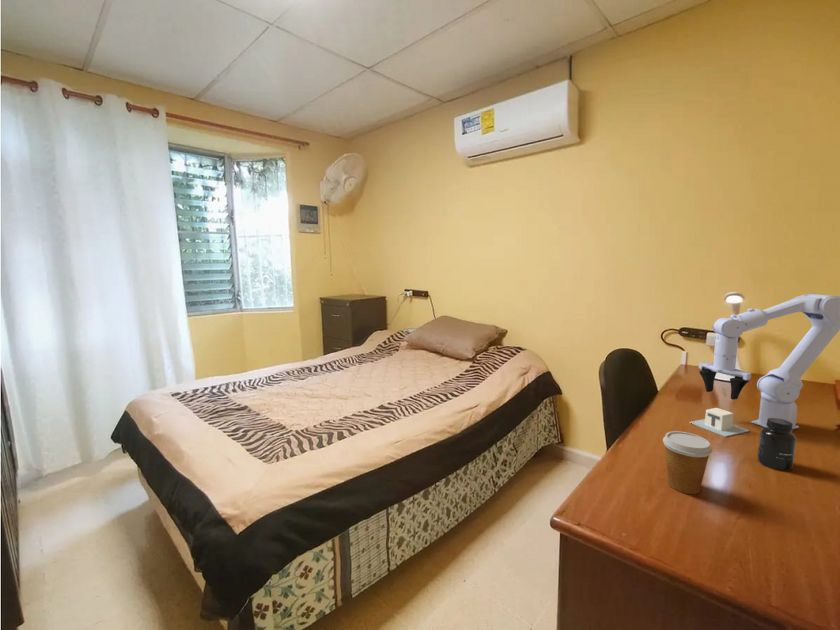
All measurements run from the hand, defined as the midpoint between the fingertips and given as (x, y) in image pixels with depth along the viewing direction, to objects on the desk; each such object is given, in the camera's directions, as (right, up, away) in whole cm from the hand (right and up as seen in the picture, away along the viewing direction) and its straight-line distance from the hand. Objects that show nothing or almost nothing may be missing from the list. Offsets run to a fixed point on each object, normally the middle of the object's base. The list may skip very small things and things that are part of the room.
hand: (721, 395), depth 123 cm
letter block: (-3, -10, -2) cm, 10 cm away
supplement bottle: (-6, -13, -25) cm, 29 cm away
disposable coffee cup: (-36, -15, -34) cm, 52 cm away
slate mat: (-3, -10, -2) cm, 11 cm away
